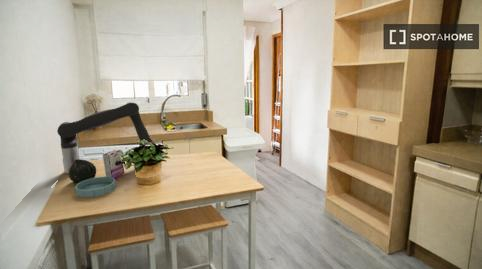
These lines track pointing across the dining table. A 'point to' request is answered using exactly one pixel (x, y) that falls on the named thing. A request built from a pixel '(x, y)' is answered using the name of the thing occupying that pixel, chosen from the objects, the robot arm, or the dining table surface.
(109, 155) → the candy bar box
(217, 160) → the dining table surface
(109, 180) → the bowl
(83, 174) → the squash
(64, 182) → the dining table surface
